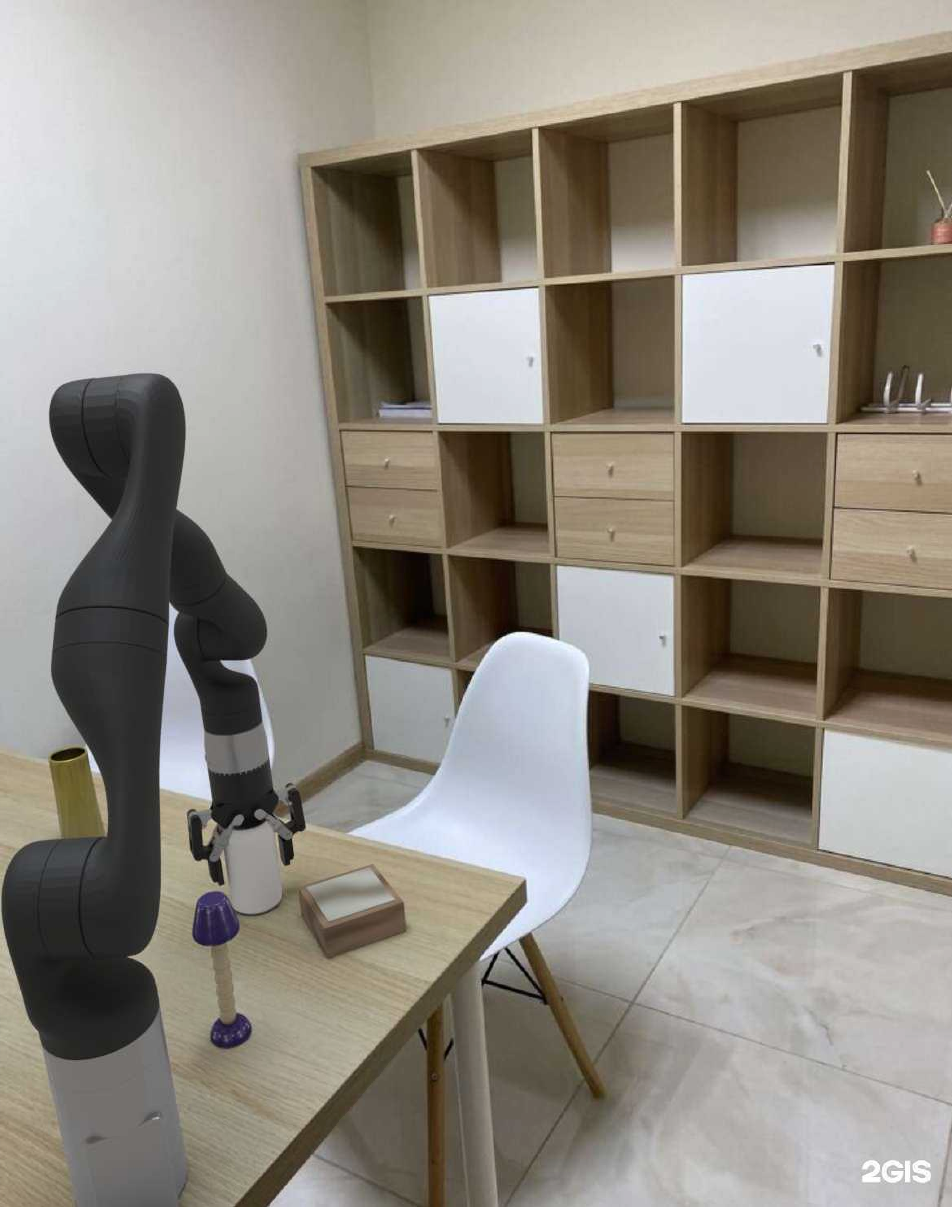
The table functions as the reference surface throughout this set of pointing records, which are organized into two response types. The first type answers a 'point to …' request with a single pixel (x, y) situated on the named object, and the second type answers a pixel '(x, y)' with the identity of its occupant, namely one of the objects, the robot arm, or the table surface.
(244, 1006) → the table surface
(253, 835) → the can
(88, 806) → the vase
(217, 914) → the toy lamp
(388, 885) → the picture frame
